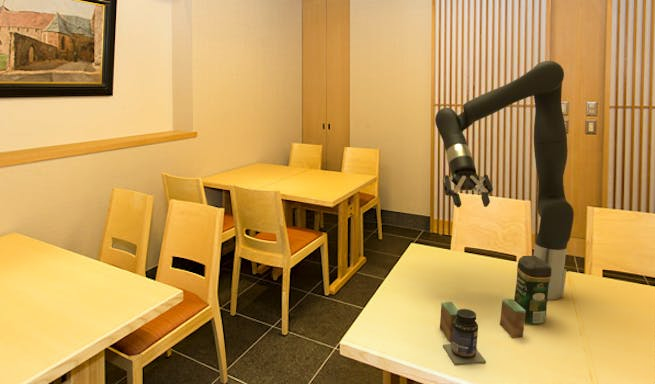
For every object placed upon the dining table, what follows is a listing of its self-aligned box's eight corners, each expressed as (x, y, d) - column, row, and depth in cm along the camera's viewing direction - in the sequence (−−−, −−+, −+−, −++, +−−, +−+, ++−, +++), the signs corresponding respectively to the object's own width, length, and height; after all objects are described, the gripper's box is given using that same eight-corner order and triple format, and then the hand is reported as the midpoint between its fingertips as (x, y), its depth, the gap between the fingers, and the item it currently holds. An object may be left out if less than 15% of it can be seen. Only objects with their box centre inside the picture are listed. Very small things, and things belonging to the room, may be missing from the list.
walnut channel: (509, 323, 125) (512, 298, 123) (522, 337, 118) (525, 310, 116) (439, 327, 123) (441, 302, 121) (449, 341, 116) (451, 314, 114)
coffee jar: (508, 309, 133) (514, 253, 129) (533, 309, 133) (540, 253, 129) (522, 326, 124) (529, 265, 120) (549, 326, 124) (557, 265, 120)
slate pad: (471, 344, 115) (471, 342, 115) (485, 363, 107) (485, 361, 107) (442, 346, 114) (442, 344, 114) (454, 365, 106) (454, 363, 106)
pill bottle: (477, 360, 107) (481, 320, 104) (451, 357, 108) (454, 318, 106) (474, 346, 113) (477, 308, 110) (450, 343, 114) (453, 306, 111)
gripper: (442, 154, 132) (454, 200, 124) (486, 154, 134) (501, 198, 125) (435, 168, 139) (446, 212, 130) (477, 168, 140) (491, 211, 132)
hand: (473, 205), depth 128 cm, fingers open, 8 cm apart
